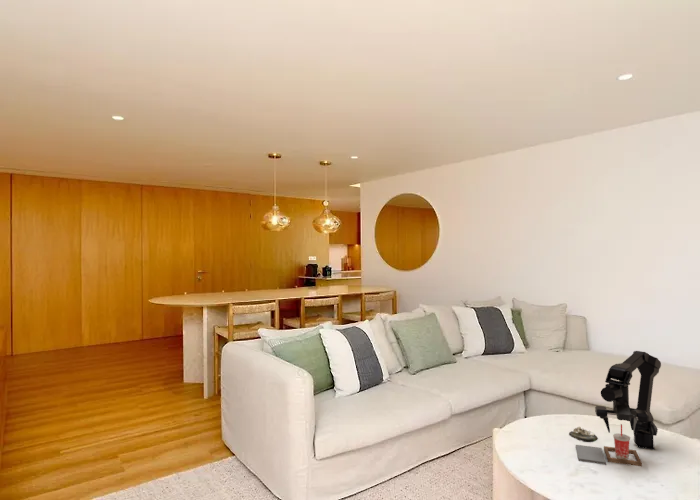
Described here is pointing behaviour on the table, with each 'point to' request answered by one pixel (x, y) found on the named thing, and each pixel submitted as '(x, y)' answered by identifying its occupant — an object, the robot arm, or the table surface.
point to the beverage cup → (621, 445)
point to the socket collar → (623, 461)
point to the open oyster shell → (583, 435)
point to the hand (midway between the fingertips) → (621, 433)
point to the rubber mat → (590, 454)
